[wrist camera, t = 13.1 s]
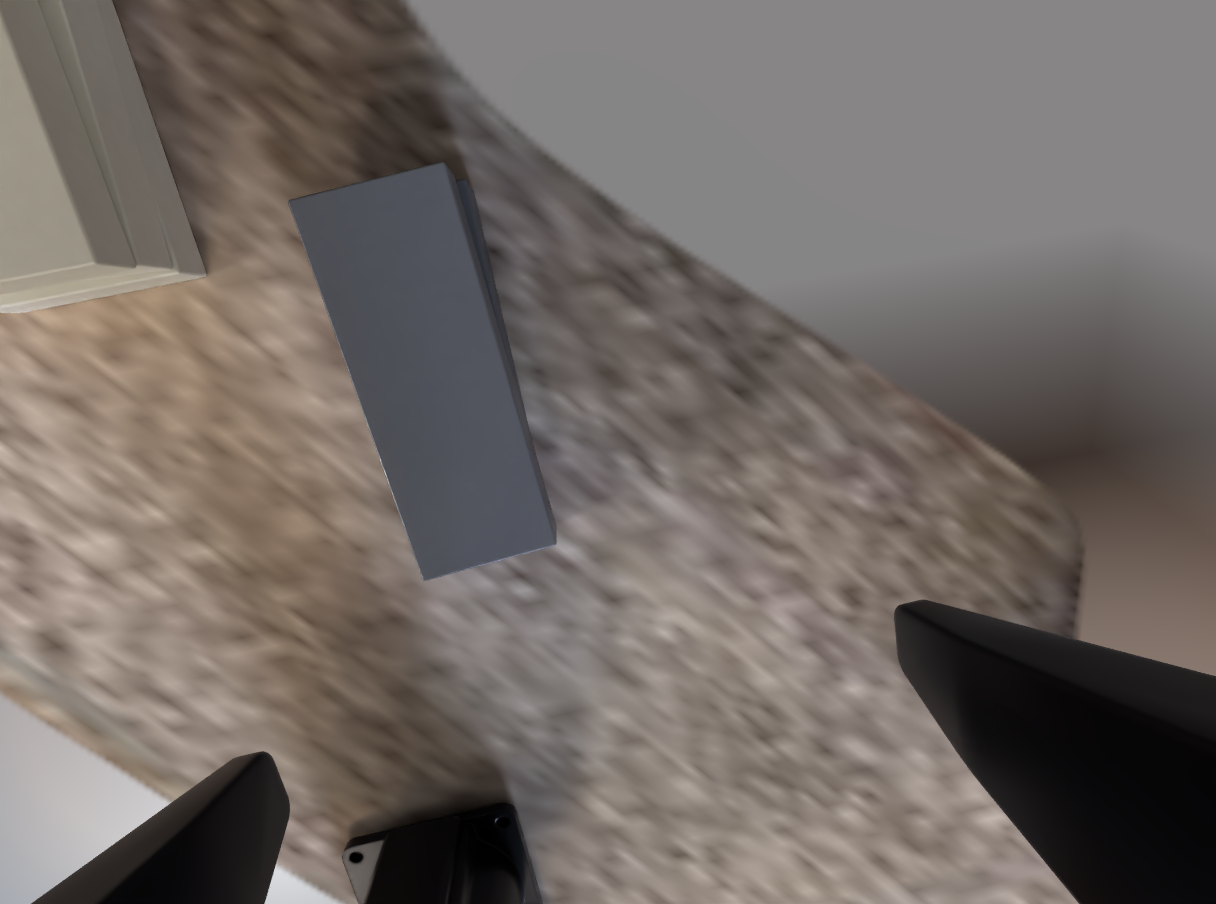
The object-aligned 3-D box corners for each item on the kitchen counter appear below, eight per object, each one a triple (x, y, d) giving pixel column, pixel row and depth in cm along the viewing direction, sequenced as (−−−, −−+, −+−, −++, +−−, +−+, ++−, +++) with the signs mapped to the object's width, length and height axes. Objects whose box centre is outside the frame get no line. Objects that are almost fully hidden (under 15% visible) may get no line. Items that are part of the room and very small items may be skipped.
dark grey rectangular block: (559, 524, 20) (560, 561, 17) (429, 553, 20) (406, 595, 17) (481, 185, 18) (466, 156, 15) (331, 214, 18) (283, 190, 14)
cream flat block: (226, 273, 18) (166, 265, 15) (18, 314, 17) (-82, 313, 15) (101, -97, 15) (4, -186, 13) (-140, -57, 15) (-292, -139, 12)
